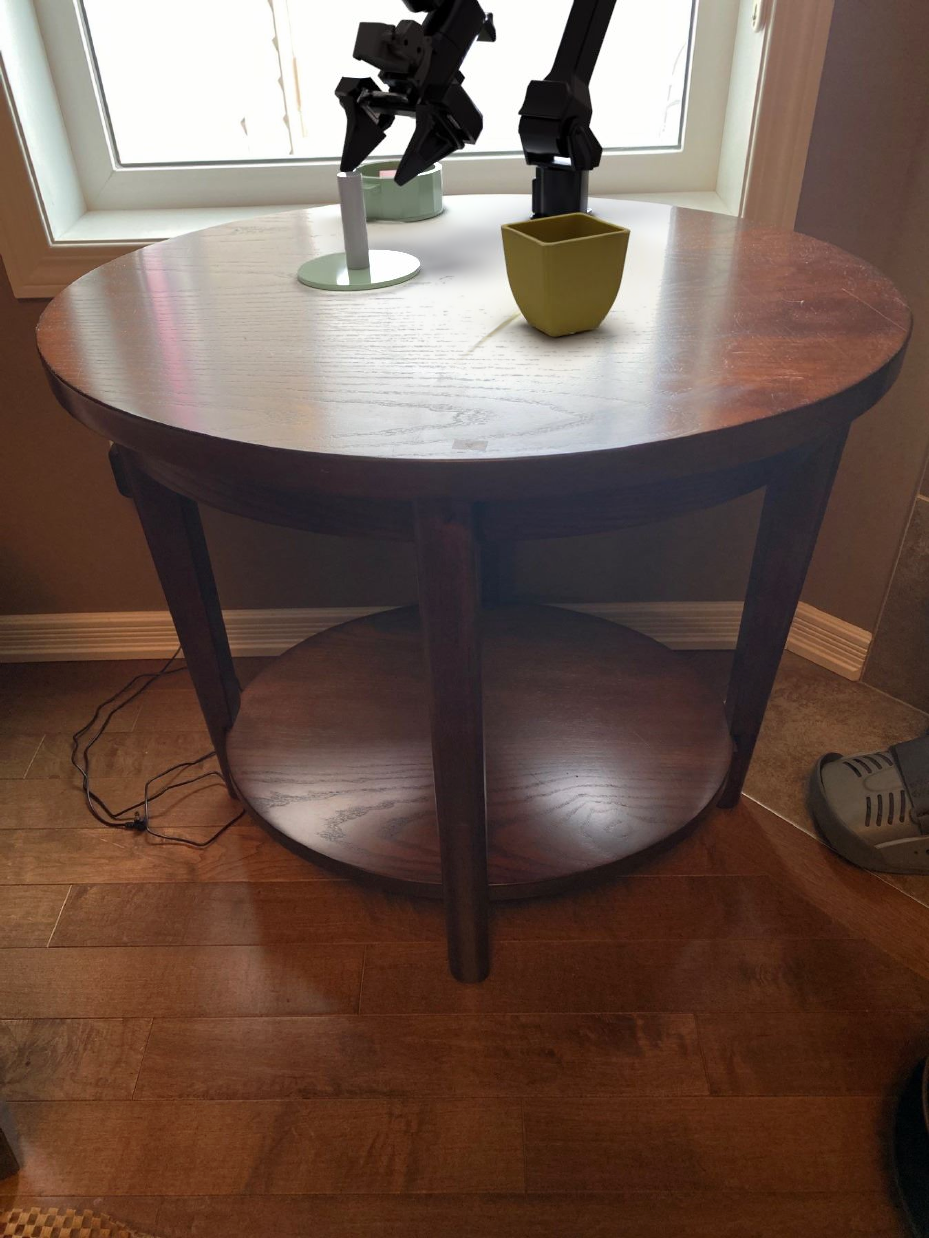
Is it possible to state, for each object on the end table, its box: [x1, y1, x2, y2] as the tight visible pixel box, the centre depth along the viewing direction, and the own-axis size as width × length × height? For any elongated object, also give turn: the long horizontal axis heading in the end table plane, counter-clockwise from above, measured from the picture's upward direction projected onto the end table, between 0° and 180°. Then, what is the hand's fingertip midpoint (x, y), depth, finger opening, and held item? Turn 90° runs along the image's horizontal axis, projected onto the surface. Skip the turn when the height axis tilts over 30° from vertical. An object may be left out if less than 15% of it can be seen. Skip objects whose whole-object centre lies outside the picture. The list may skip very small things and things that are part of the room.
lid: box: [297, 172, 421, 292], centre depth 99 cm, size 14×14×11 cm
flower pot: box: [500, 213, 631, 338], centre depth 83 cm, size 9×9×9 cm
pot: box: [353, 159, 445, 223], centre depth 125 cm, size 13×18×6 cm
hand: (369, 178), depth 97 cm, fingers open, 9 cm apart
